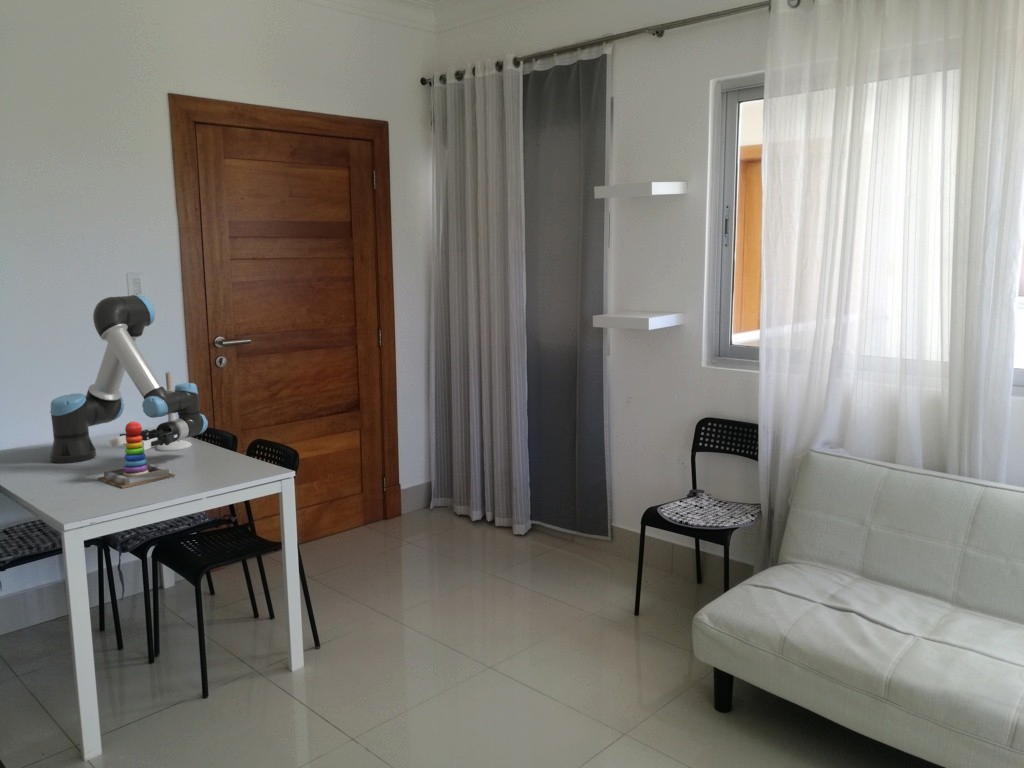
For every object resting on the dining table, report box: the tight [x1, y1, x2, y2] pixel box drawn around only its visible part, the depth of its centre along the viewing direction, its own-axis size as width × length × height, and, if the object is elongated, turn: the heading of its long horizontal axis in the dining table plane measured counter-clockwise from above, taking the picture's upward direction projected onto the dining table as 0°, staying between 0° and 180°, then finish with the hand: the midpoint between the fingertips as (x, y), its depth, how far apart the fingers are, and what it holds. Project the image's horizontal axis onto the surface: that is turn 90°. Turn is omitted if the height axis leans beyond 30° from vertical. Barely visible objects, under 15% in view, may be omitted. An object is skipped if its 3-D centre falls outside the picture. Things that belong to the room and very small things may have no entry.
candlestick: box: [156, 371, 193, 452], centre depth 323 cm, size 13×13×30 cm
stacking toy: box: [122, 421, 149, 477], centre depth 280 cm, size 8×8×19 cm
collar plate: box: [97, 462, 177, 489], centre depth 281 cm, size 18×18×3 cm
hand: (126, 444), depth 276 cm, fingers open, 13 cm apart
